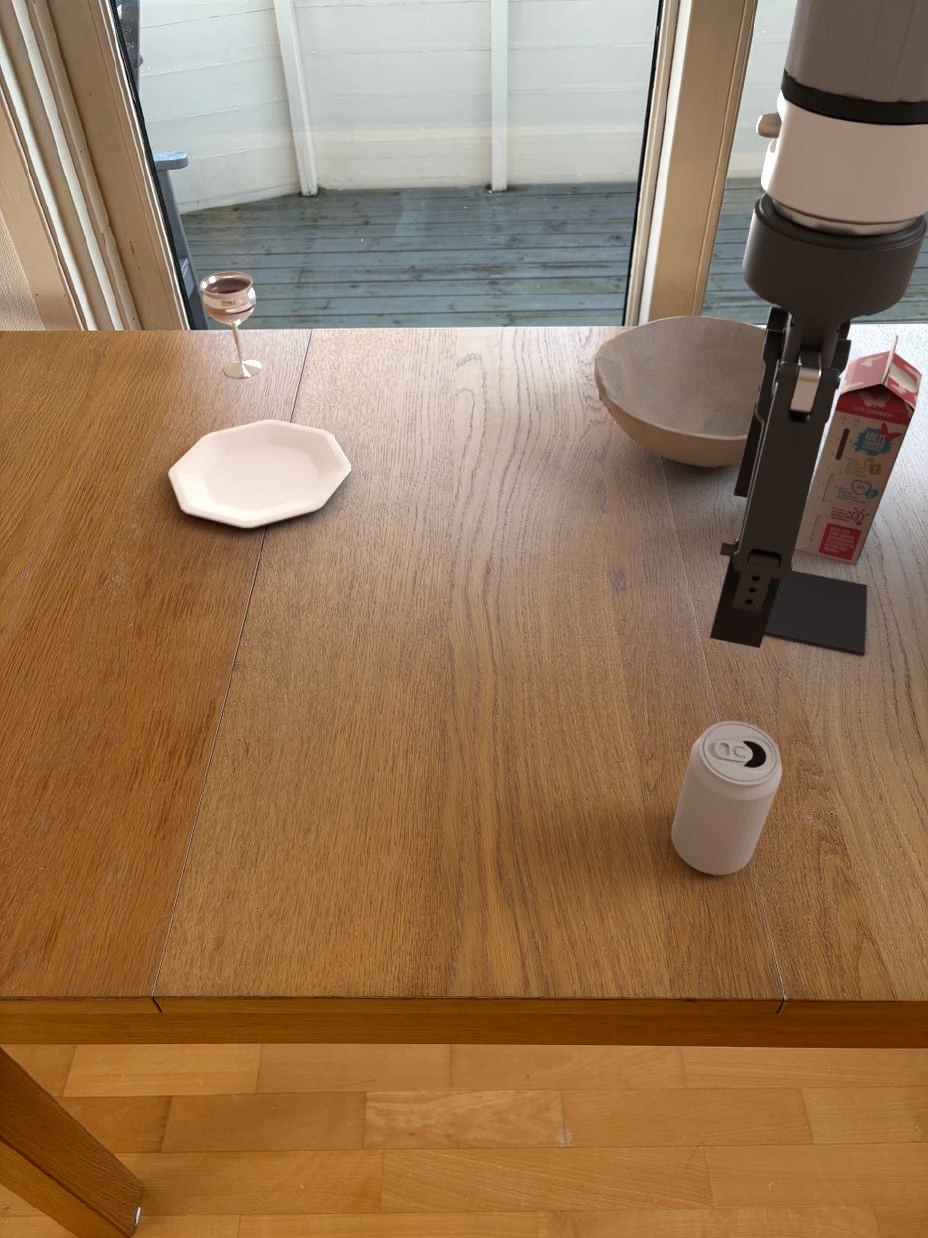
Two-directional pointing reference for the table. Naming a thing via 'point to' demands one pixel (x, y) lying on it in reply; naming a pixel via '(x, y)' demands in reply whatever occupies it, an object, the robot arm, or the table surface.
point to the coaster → (820, 612)
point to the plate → (259, 474)
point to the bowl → (684, 386)
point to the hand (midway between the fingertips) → (745, 562)
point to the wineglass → (231, 311)
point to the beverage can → (726, 797)
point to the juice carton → (858, 455)
